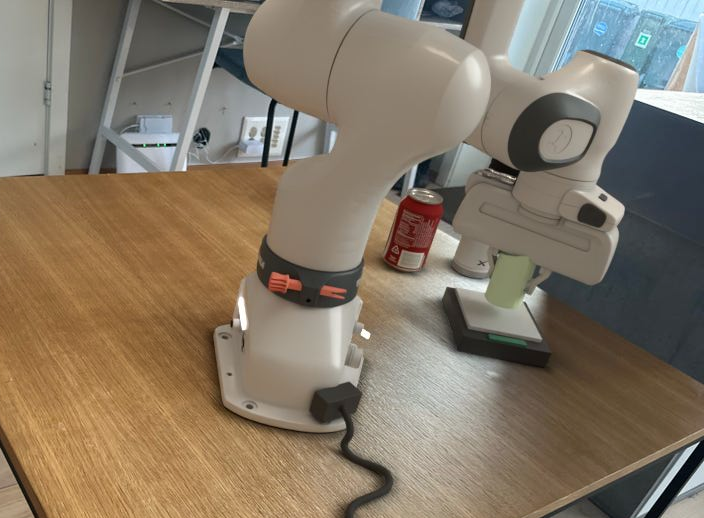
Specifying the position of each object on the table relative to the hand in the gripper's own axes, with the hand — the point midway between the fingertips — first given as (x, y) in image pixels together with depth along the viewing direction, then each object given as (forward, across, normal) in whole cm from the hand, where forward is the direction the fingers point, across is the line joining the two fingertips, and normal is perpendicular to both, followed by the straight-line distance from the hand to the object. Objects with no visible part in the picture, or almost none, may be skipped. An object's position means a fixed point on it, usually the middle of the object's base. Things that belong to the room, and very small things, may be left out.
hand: (509, 285), depth 97 cm
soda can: (+8, -18, +9) cm, 21 cm away
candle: (+3, 0, 0) cm, 3 cm away
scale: (+7, 0, 0) cm, 7 cm away
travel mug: (+8, -9, +17) cm, 21 cm away
